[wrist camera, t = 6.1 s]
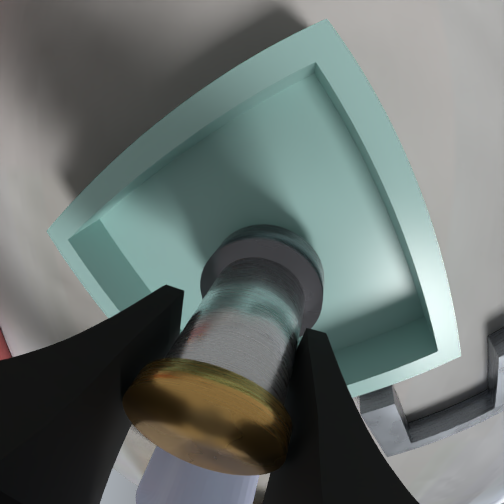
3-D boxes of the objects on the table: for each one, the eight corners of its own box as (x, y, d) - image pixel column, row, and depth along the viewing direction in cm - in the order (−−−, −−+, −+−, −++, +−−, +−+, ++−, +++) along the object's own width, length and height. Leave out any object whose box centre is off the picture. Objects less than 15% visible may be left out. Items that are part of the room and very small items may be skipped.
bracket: (385, 437, 18) (387, 457, 16) (359, 390, 16) (360, 414, 14) (508, 385, 14) (516, 403, 12) (514, 321, 12) (526, 341, 10)
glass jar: (306, 333, 12) (273, 490, 6) (208, 304, 13) (126, 438, 7) (339, 243, 10) (334, 424, 4) (220, 211, 11) (94, 341, 5)
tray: (225, 387, 17) (212, 425, 15) (85, 208, 14) (46, 231, 11) (442, 314, 12) (461, 355, 10) (322, 42, 9) (326, 18, 6)
